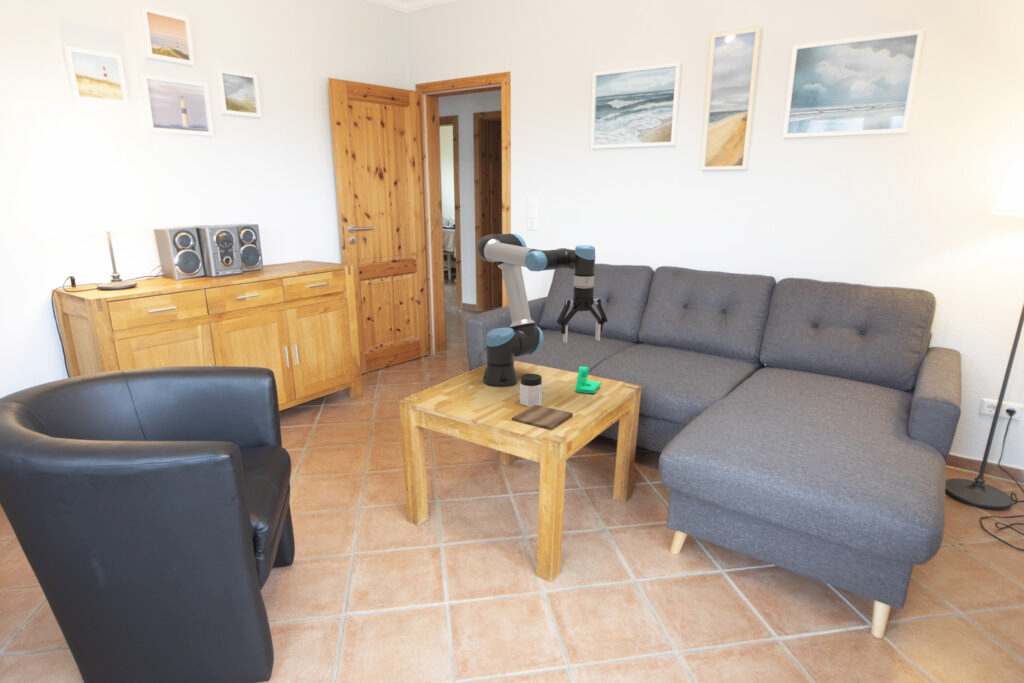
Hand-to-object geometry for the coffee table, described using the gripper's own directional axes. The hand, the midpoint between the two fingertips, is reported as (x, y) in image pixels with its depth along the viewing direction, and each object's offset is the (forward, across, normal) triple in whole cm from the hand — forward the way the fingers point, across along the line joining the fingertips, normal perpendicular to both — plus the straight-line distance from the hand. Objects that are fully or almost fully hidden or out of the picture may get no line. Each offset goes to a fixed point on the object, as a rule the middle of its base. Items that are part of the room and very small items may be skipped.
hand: (581, 340), depth 217 cm
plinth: (+24, -22, -19) cm, 37 cm away
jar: (+25, -21, -2) cm, 32 cm away
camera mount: (+25, +8, +10) cm, 28 cm away
